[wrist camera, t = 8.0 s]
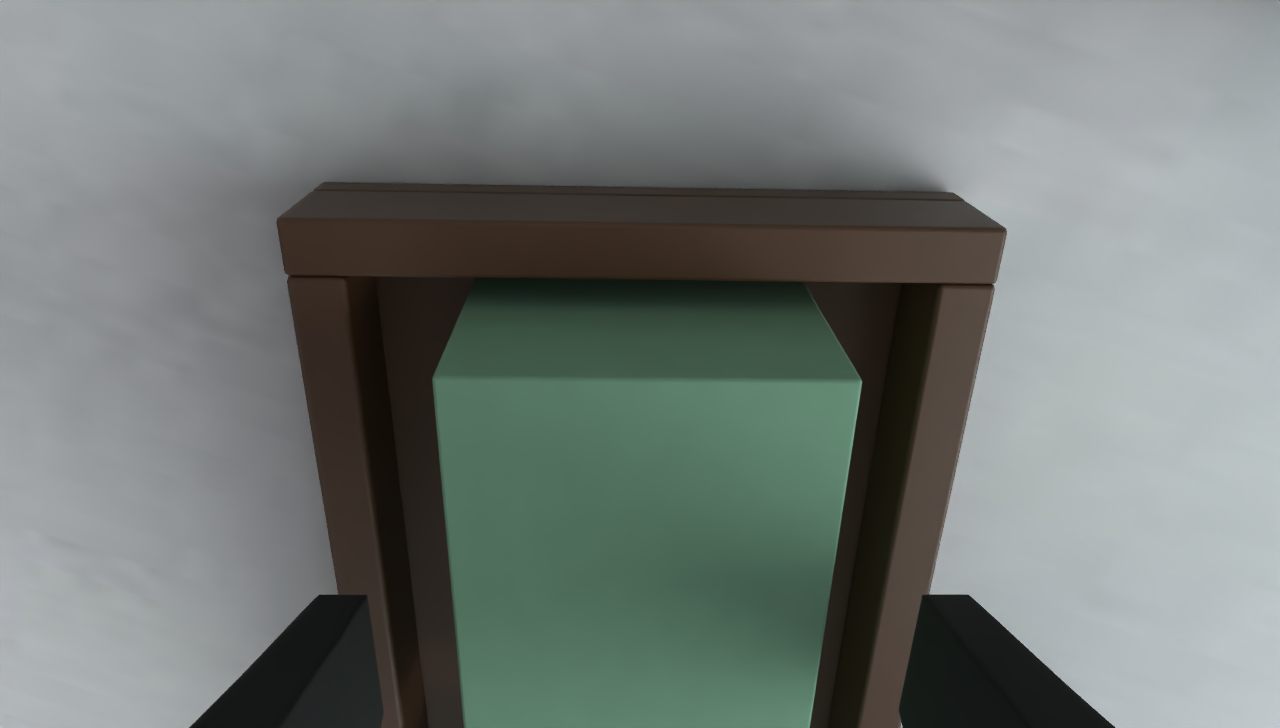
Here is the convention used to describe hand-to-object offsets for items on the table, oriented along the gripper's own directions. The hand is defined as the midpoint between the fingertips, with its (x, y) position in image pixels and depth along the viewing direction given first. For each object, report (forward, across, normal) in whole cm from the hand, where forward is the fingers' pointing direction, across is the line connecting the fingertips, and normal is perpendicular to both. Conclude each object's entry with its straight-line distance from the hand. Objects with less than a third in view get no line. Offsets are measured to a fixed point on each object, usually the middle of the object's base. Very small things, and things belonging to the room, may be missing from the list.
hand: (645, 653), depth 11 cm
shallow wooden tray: (+4, 0, +4) cm, 6 cm away
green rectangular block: (+4, 0, 0) cm, 4 cm away
